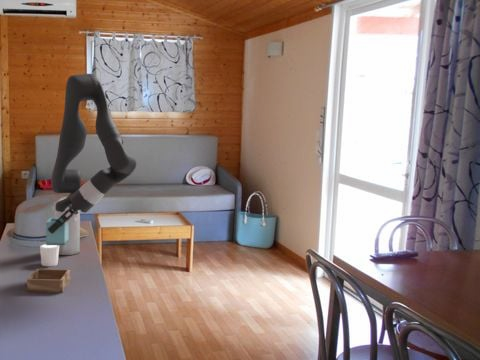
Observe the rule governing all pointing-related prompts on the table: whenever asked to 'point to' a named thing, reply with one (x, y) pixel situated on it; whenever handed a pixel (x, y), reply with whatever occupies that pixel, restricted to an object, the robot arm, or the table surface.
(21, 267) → the table surface
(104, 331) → the table surface
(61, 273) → the walnut crate
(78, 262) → the table surface
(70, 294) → the table surface
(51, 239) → the teal crate
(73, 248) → the robot arm
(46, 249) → the white cylinder
